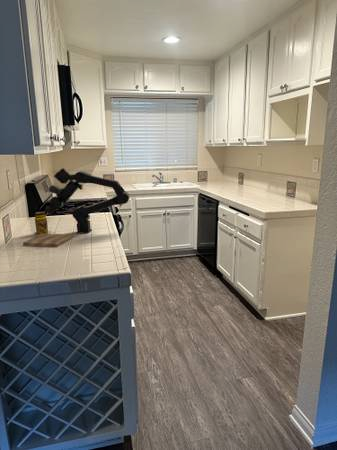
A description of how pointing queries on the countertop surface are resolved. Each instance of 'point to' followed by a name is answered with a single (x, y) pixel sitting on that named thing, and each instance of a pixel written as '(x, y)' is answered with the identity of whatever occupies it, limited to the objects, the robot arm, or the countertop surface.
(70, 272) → the countertop surface
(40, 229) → the condiment
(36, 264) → the countertop surface
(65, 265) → the countertop surface
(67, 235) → the walnut board
